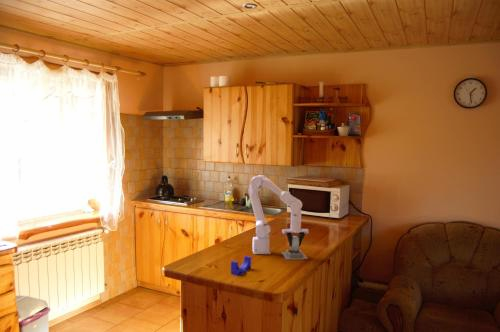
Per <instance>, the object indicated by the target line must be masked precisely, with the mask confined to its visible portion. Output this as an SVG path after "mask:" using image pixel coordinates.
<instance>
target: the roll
mask: <svg viewBox="0 0 500 332" xmlns="http://www.w3.org/2000/svg"><path fill="white" fill-rule="evenodd" d="M290 250H293V251H298V250H300V246H299V237H298V236H296V235H292V246H290Z"/></svg>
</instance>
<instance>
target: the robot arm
mask: <svg viewBox="0 0 500 332" xmlns="http://www.w3.org/2000/svg"><path fill="white" fill-rule="evenodd" d="M262 188H267V189H269V190H271V192H273V193H274V194H276V195H277V196H278V197H279V199H280V201H282V202H283V203H284V204H286V206H288V207H289V209H290V225H289V227H290V228H287V229H286V228H283V229H281V231H282V234H284V235H285V234H286V237H287V240H288V244H289V245H288V246H289V247H291V246H292V236H293V235H292V234H297V235H298V237H299V247H301V245H302V242H303V239H304V238H305V234H309V228H301V227H302V207H303V202H302V201H301V200H300V199H298V198H297V197H295V196H293V195H292V194H291V191H287V190H282V189H281V188H280V187H279V186H278V185H277V184H275V183H274V182H273V181H271V179H269V178H268V177H266V176H265V175H264V174H259V175H254V176H253V177H252V178H251V179H250V181H249V186H248V192H247V193H248V197H249V199H250V203H251V208H252V212H253V214H254V218H255V219H254V220H255V235H256V236H253V237H252V243H251V245H252V246H251V248H252V250H251V251H252V253H253V254H254V255H271V252H270V233H271V226H270V225H269V224H268V220H266V218H265V214H264V211H263V207H262V203H261V200H260V196H259V191H260V189H262Z"/></svg>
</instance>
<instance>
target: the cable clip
mask: <svg viewBox="0 0 500 332" xmlns="http://www.w3.org/2000/svg"><path fill="white" fill-rule="evenodd" d="M251 268H252V257H251V256H249V255H245V256H244V259H243V262H242V264H241V265H240V266H239V262H238V261H234V260H232V261H230V274H231V275H234V276H241V275H242V274H245V273H247V271H249V270H251Z"/></svg>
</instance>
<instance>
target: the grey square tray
mask: <svg viewBox="0 0 500 332" xmlns="http://www.w3.org/2000/svg"><path fill="white" fill-rule="evenodd" d="M280 253H281V255H282V256H283V257H284V259H285V260H286V261H291V260H293V261H294V260H295V261H297V260H303V261H304V259H307V260H309V258H308V257H307V256H306V254H304V252H303V251H302V250H300V249H299V250H298V251H293V250H291V249H286V250H285V251H281V252H280Z"/></svg>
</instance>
